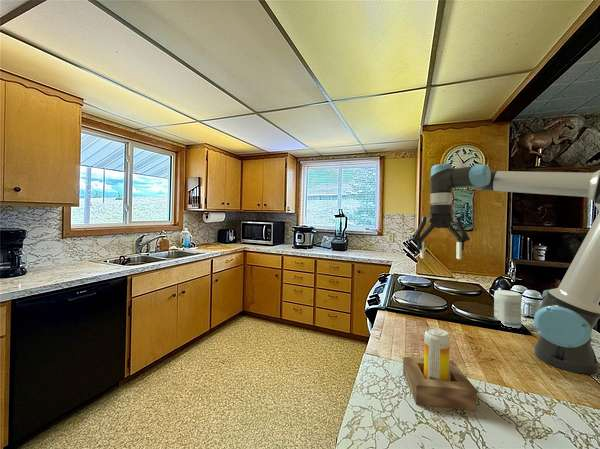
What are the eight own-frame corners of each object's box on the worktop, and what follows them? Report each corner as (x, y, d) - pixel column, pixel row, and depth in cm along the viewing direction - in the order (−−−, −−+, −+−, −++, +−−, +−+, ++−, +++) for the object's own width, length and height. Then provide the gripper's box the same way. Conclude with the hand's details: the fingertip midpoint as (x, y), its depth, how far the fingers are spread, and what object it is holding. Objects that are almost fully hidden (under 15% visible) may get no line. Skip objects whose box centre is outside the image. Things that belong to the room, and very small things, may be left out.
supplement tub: (524, 326, 118) (525, 293, 118) (516, 331, 113) (516, 296, 113) (498, 319, 127) (499, 288, 126) (489, 323, 121) (490, 291, 121)
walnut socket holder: (452, 377, 79) (452, 360, 79) (476, 410, 66) (476, 390, 65) (403, 373, 81) (403, 356, 81) (416, 404, 68) (416, 384, 67)
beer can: (449, 383, 74) (450, 330, 74) (447, 396, 69) (448, 338, 69) (425, 376, 78) (426, 325, 77) (421, 387, 73) (423, 332, 72)
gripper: (470, 205, 107) (469, 257, 108) (405, 205, 111) (404, 256, 111) (480, 203, 100) (479, 260, 100) (410, 204, 103) (409, 259, 104)
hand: (440, 258), depth 106 cm, fingers open, 13 cm apart
